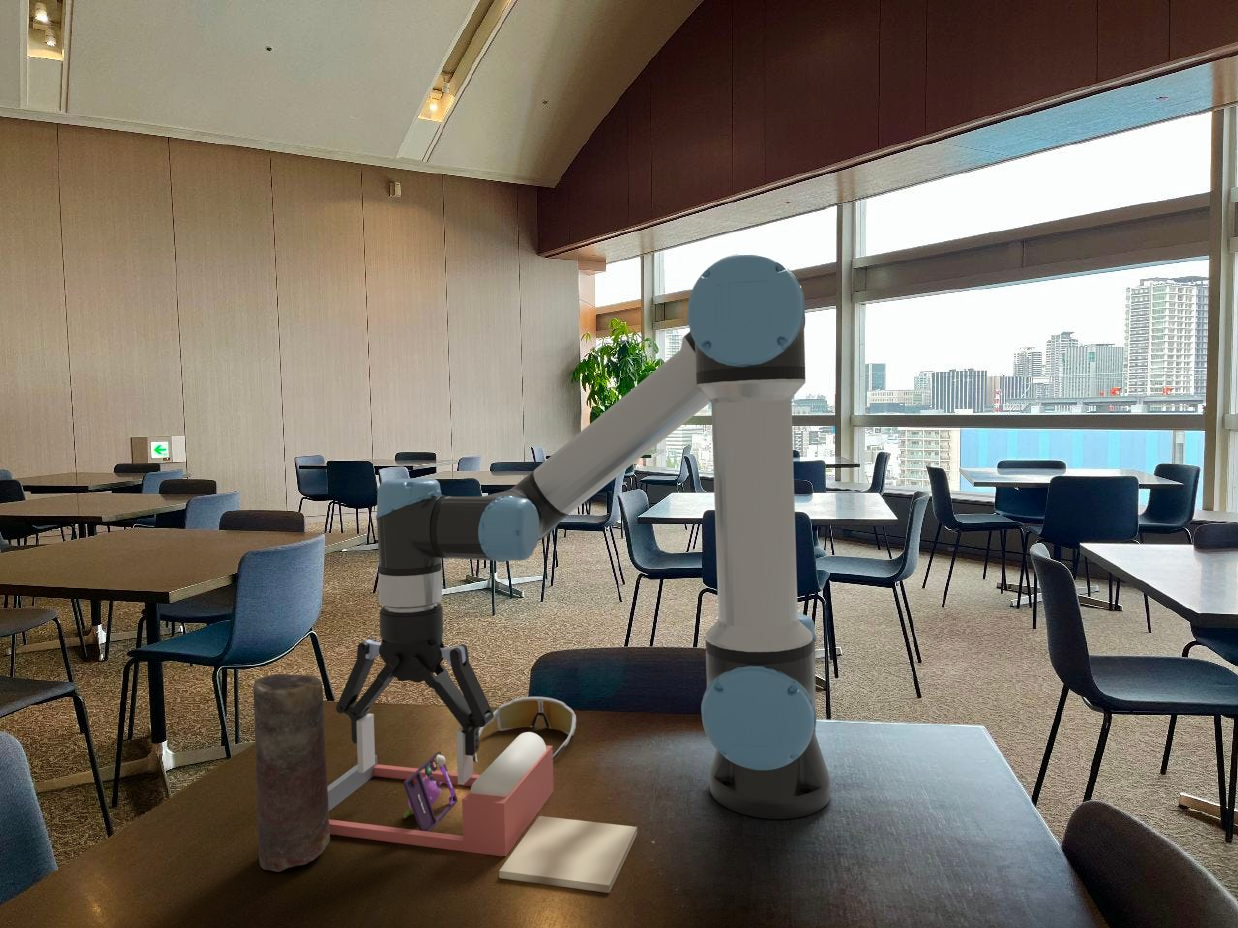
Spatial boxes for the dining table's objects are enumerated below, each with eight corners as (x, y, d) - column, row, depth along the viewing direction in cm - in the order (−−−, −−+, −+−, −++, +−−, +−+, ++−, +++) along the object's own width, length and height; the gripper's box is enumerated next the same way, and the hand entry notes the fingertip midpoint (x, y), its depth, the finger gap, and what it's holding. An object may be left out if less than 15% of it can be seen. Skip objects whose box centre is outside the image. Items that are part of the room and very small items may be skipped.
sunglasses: (586, 728, 126) (584, 698, 125) (558, 784, 112) (556, 751, 111) (501, 722, 129) (498, 693, 128) (462, 776, 115) (459, 744, 114)
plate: (637, 833, 94) (637, 826, 94) (609, 892, 82) (609, 885, 82) (539, 822, 97) (539, 815, 97) (499, 877, 85) (499, 870, 85)
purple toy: (411, 780, 94) (445, 749, 103) (373, 791, 95) (410, 759, 104) (430, 835, 94) (463, 799, 102) (392, 845, 95) (427, 809, 104)
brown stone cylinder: (278, 837, 94) (271, 668, 93) (341, 837, 94) (334, 668, 93) (246, 874, 87) (238, 691, 85) (314, 874, 86) (306, 690, 85)
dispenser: (553, 791, 105) (552, 729, 104) (505, 856, 89) (503, 783, 89) (371, 772, 111) (369, 713, 111) (297, 829, 96) (294, 762, 96)
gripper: (517, 602, 100) (520, 771, 101) (339, 593, 106) (344, 751, 107) (493, 617, 93) (496, 798, 94) (303, 606, 99) (309, 775, 100)
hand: (415, 773), depth 101 cm, fingers open, 13 cm apart
